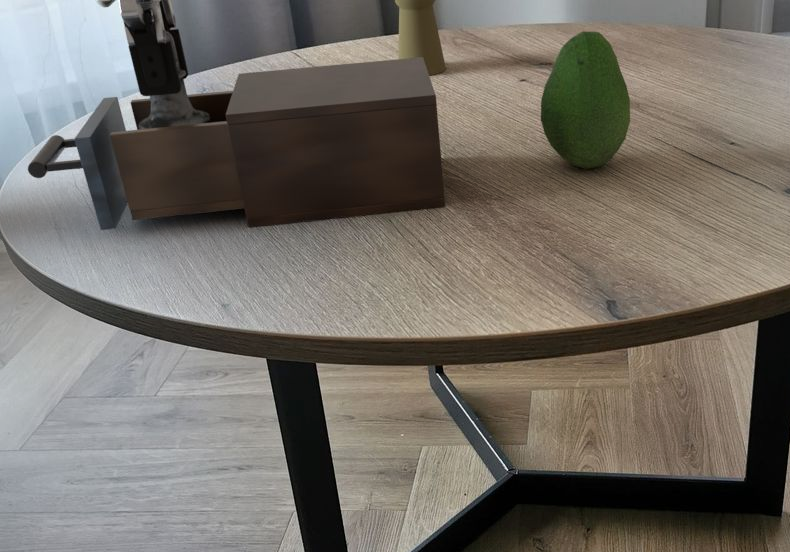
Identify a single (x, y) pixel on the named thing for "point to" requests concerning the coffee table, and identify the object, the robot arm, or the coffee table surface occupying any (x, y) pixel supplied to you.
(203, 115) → the salt shaker
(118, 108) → the drawer
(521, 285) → the coffee table surface
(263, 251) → the coffee table surface
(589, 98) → the fruit
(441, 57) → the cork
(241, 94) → the cabinet
